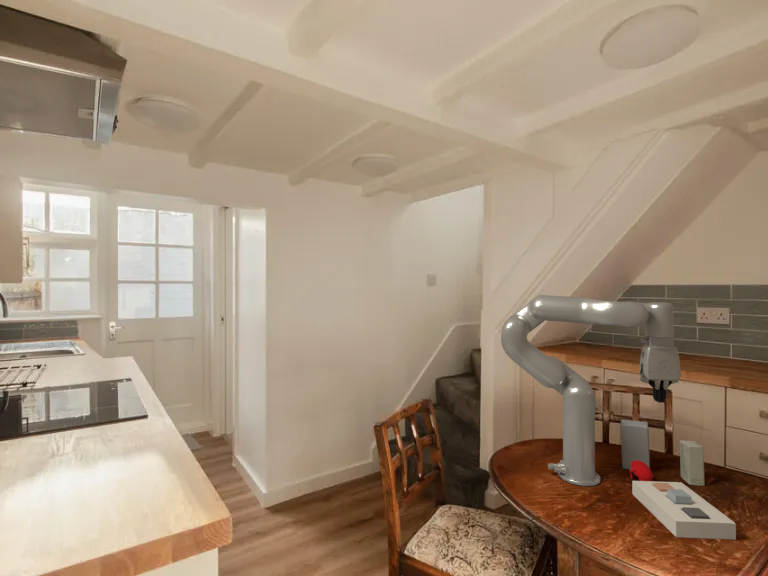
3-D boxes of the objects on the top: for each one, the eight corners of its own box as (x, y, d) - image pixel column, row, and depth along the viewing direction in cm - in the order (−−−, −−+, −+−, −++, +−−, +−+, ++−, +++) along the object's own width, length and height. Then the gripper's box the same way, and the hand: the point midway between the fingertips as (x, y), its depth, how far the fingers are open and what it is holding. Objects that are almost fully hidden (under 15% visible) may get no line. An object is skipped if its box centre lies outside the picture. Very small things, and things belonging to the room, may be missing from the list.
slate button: (675, 507, 114) (675, 496, 114) (667, 499, 118) (666, 489, 118) (691, 507, 114) (691, 496, 114) (682, 500, 118) (682, 489, 118)
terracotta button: (660, 499, 121) (660, 489, 121) (653, 492, 125) (653, 482, 125) (675, 500, 121) (675, 489, 121) (667, 493, 125) (667, 483, 125)
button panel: (676, 537, 106) (676, 521, 106) (632, 493, 128) (632, 480, 128) (735, 539, 105) (735, 523, 105) (681, 495, 126) (681, 482, 126)
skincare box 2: (705, 486, 132) (704, 447, 132) (689, 485, 133) (688, 446, 133) (694, 477, 138) (694, 440, 138) (679, 476, 139) (679, 439, 139)
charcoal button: (692, 527, 107) (692, 515, 107) (682, 518, 111) (682, 507, 111) (708, 527, 107) (708, 516, 107) (698, 519, 111) (698, 507, 111)
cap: (622, 465, 141) (627, 461, 136) (639, 459, 141) (645, 455, 136) (636, 490, 136) (642, 488, 131) (654, 484, 136) (660, 482, 131)
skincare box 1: (649, 467, 146) (649, 421, 146) (649, 474, 140) (649, 427, 140) (621, 461, 151) (621, 417, 151) (620, 469, 145) (620, 423, 145)
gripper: (640, 343, 128) (640, 404, 128) (692, 344, 126) (692, 405, 126) (627, 340, 135) (628, 397, 135) (677, 340, 134) (677, 398, 134)
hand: (659, 401), depth 131 cm, fingers closed
